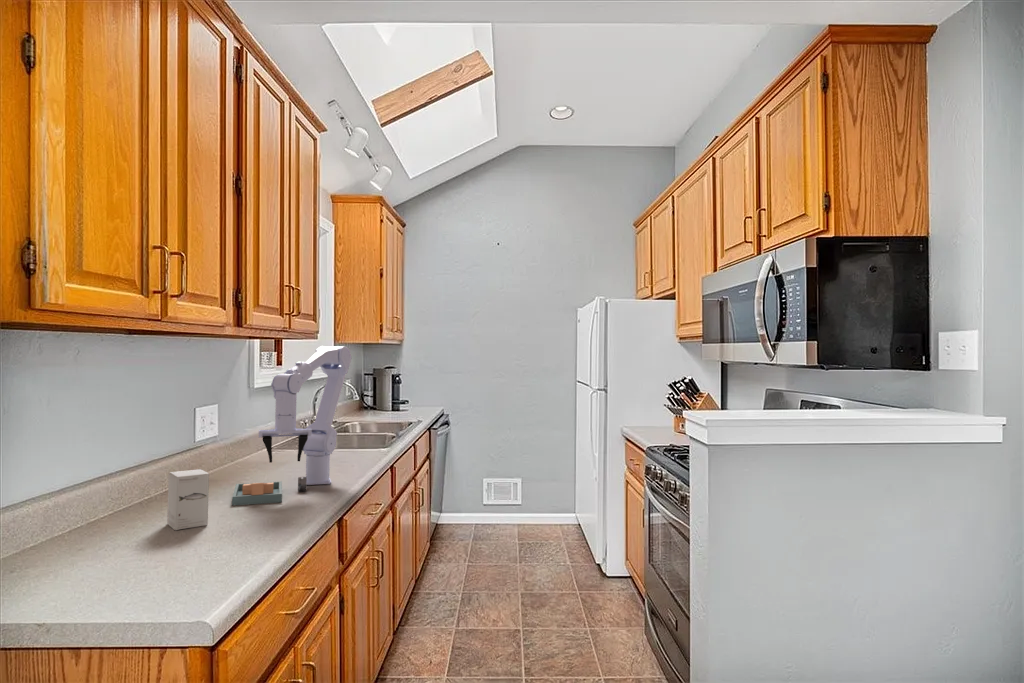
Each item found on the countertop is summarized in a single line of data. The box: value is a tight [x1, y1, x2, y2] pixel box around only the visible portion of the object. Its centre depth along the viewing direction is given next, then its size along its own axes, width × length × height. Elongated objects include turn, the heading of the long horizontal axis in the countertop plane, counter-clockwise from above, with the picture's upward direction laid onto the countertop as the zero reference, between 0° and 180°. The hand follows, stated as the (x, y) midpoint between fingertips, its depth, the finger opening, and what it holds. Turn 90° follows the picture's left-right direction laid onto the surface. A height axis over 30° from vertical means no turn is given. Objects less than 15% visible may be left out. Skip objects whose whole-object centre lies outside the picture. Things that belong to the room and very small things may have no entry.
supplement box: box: [166, 469, 210, 531], centre depth 153 cm, size 7×7×13 cm
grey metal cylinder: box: [297, 476, 307, 493], centre depth 189 cm, size 2×2×4 cm
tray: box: [231, 480, 283, 506], centre depth 181 cm, size 17×13×2 cm
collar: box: [242, 481, 275, 495], centre depth 179 cm, size 12×8×3 cm, turn 20°
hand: (284, 461), depth 186 cm, fingers open, 7 cm apart
